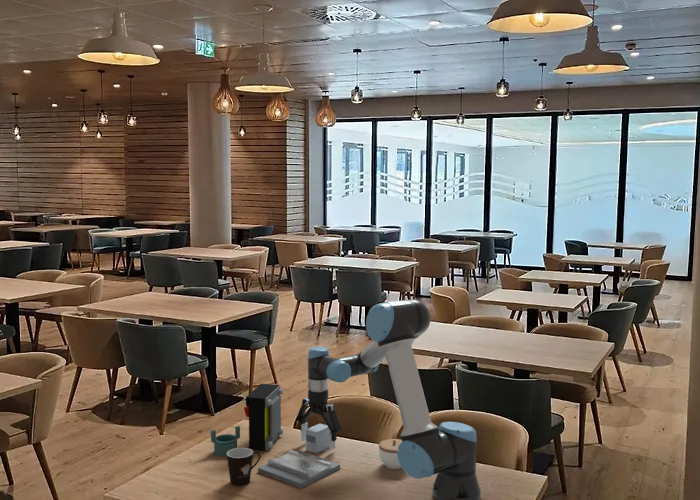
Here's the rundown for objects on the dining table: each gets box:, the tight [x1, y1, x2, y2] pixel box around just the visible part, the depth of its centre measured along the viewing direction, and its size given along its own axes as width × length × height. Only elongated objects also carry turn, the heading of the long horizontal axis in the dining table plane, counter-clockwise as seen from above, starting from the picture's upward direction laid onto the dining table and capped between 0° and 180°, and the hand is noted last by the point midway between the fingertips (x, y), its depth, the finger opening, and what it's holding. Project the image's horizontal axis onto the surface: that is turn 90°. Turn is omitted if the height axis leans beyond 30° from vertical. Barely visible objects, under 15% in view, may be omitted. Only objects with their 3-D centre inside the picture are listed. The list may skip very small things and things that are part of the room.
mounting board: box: [257, 450, 341, 489], centre depth 239 cm, size 20×20×2 cm
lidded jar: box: [378, 438, 403, 470], centre depth 243 cm, size 11×11×9 cm
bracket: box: [210, 425, 241, 457], centre depth 255 cm, size 9×9×9 cm
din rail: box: [267, 449, 331, 479], centre depth 239 cm, size 19×12×2 cm, turn 51°
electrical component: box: [243, 383, 284, 452], centre depth 264 cm, size 18×10×20 cm, turn 168°
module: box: [305, 423, 331, 454], centre depth 258 cm, size 5×8×8 cm, turn 142°
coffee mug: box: [226, 447, 262, 487], centre depth 229 cm, size 12×9×10 cm
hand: (318, 444), depth 259 cm, fingers open, 13 cm apart
